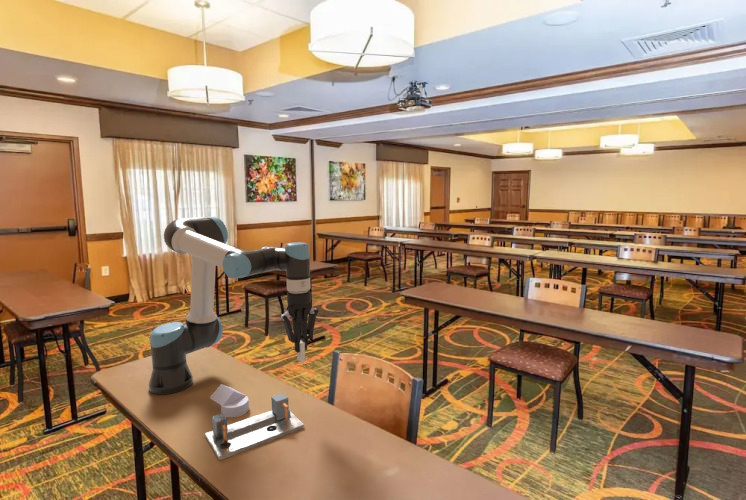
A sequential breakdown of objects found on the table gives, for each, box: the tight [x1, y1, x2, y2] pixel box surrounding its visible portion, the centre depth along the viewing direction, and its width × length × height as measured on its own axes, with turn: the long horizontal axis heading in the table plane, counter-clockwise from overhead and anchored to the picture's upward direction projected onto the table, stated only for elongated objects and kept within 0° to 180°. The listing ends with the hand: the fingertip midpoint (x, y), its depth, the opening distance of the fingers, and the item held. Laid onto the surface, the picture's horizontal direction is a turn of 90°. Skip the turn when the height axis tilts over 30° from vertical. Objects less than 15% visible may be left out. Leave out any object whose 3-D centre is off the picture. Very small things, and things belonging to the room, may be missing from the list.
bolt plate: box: [204, 409, 305, 461], centre depth 127 cm, size 14×26×8 cm, turn 127°
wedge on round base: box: [209, 383, 250, 418], centre depth 141 cm, size 9×7×13 cm
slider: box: [270, 392, 290, 422], centre depth 132 cm, size 7×4×6 cm, turn 37°
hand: (301, 360), depth 136 cm, fingers closed
